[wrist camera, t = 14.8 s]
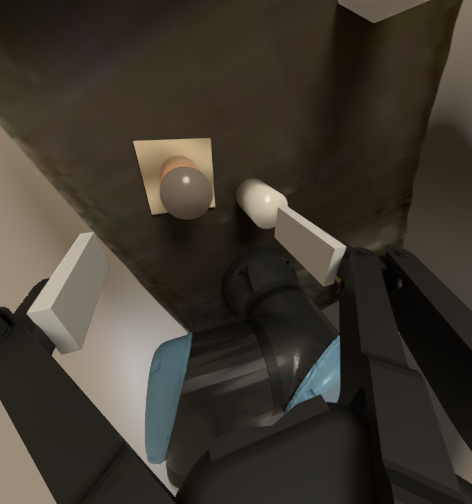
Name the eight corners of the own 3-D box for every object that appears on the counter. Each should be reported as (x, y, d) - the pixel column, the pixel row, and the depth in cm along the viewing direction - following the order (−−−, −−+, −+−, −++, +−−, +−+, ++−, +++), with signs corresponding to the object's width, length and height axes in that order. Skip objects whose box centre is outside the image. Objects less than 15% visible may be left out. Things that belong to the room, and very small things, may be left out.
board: (214, 205, 31) (215, 206, 31) (152, 212, 29) (152, 214, 28) (209, 138, 26) (210, 138, 26) (133, 140, 24) (133, 141, 23)
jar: (196, 152, 26) (209, 164, 20) (202, 192, 29) (215, 214, 23) (154, 157, 25) (153, 171, 18) (164, 198, 28) (167, 223, 21)
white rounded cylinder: (264, 207, 34) (285, 225, 29) (236, 211, 33) (251, 231, 27) (266, 176, 31) (290, 190, 26) (235, 179, 30) (253, 194, 25)
